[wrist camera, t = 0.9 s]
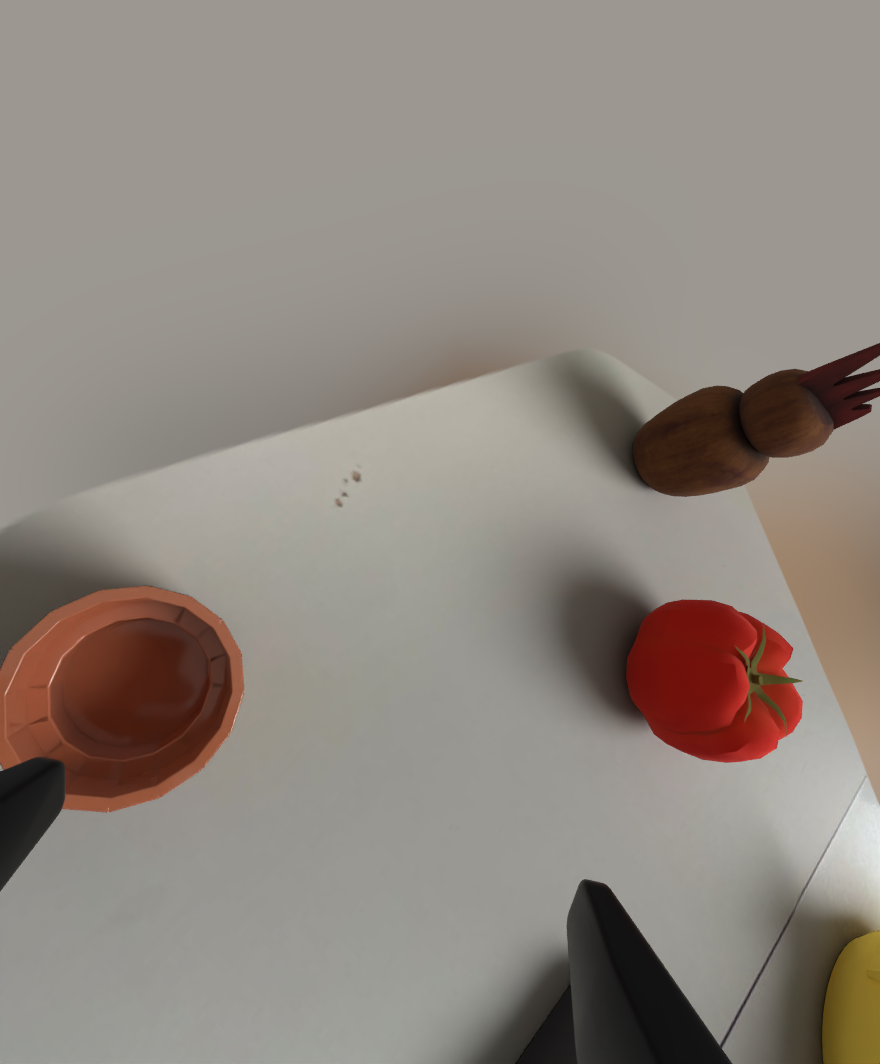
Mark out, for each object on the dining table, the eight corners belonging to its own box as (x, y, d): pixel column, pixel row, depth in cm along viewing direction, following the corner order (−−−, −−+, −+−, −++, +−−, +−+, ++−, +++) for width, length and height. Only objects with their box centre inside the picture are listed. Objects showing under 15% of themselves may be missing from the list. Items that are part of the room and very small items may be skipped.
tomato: (711, 708, 34) (835, 728, 27) (633, 767, 30) (759, 807, 23) (671, 583, 34) (785, 573, 28) (588, 623, 30) (700, 623, 23)
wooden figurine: (607, 438, 34) (869, 320, 21) (648, 409, 37) (902, 289, 24) (651, 519, 35) (931, 454, 22) (687, 484, 37) (956, 408, 24)
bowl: (89, 810, 17) (61, 865, 13) (-6, 653, 17) (-64, 661, 13) (260, 701, 20) (278, 718, 17) (185, 566, 20) (185, 551, 16)
